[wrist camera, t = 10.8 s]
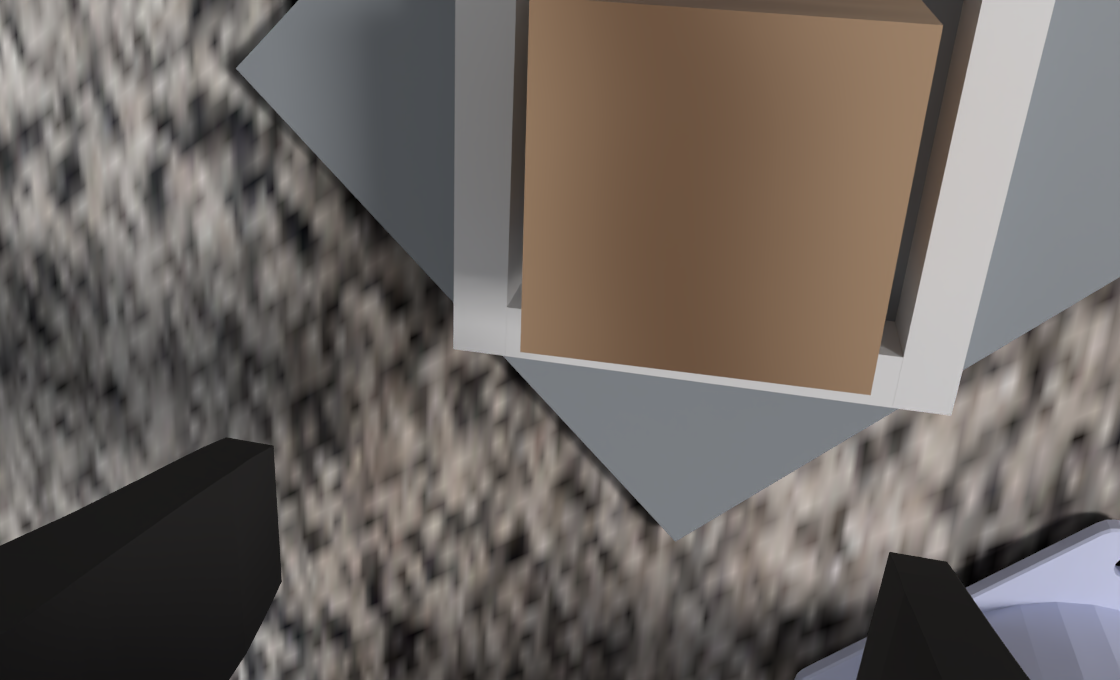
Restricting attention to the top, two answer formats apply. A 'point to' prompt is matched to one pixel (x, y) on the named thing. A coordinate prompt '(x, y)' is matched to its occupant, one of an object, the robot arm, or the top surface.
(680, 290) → the block
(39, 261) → the top surface
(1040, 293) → the base plate
